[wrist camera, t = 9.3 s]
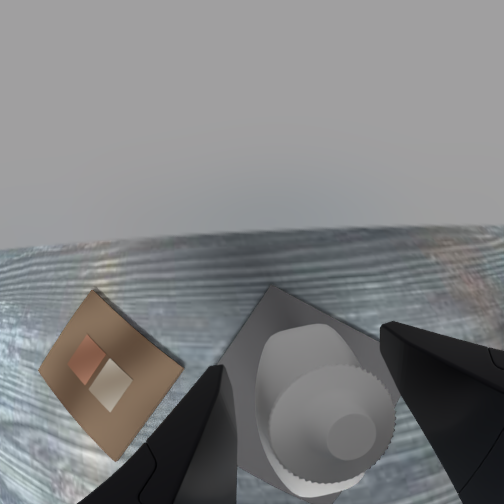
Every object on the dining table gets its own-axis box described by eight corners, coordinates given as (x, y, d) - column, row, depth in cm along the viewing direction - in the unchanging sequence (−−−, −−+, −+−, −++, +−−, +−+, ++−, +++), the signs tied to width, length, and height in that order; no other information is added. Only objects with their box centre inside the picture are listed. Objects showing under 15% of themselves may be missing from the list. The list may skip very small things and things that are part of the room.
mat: (414, 361, 14) (416, 361, 14) (326, 508, 10) (326, 510, 10) (271, 286, 17) (271, 284, 17) (176, 422, 14) (174, 423, 14)
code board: (184, 368, 15) (182, 367, 15) (117, 461, 13) (114, 461, 12) (94, 290, 19) (91, 288, 18) (40, 371, 16) (37, 370, 15)
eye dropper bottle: (244, 438, 13) (140, 532, 2) (280, 345, 15) (265, 220, 5) (322, 460, 12) (401, 584, 1) (355, 366, 14) (497, 285, 4)
